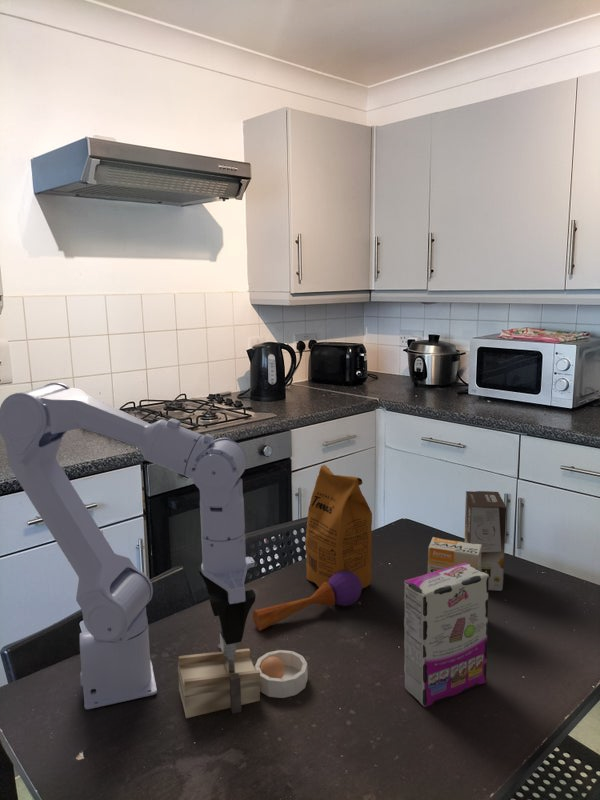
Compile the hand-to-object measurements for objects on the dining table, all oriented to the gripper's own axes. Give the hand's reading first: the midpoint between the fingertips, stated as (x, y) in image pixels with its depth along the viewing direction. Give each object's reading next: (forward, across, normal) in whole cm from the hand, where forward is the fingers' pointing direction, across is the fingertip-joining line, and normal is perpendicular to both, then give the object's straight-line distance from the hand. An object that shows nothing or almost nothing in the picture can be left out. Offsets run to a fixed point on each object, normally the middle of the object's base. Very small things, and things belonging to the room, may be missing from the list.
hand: (227, 627), depth 84 cm
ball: (+8, 0, -6) cm, 10 cm away
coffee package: (+10, +24, -26) cm, 37 cm away
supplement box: (+10, +6, -40) cm, 41 cm away
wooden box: (+10, 0, +2) cm, 10 cm away
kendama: (+10, +16, -18) cm, 26 cm away
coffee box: (+10, +16, -52) cm, 56 cm away
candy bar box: (+10, -9, -28) cm, 32 cm away
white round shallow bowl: (+10, 0, -8) cm, 12 cm away
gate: (+6, 0, 0) cm, 6 cm away
